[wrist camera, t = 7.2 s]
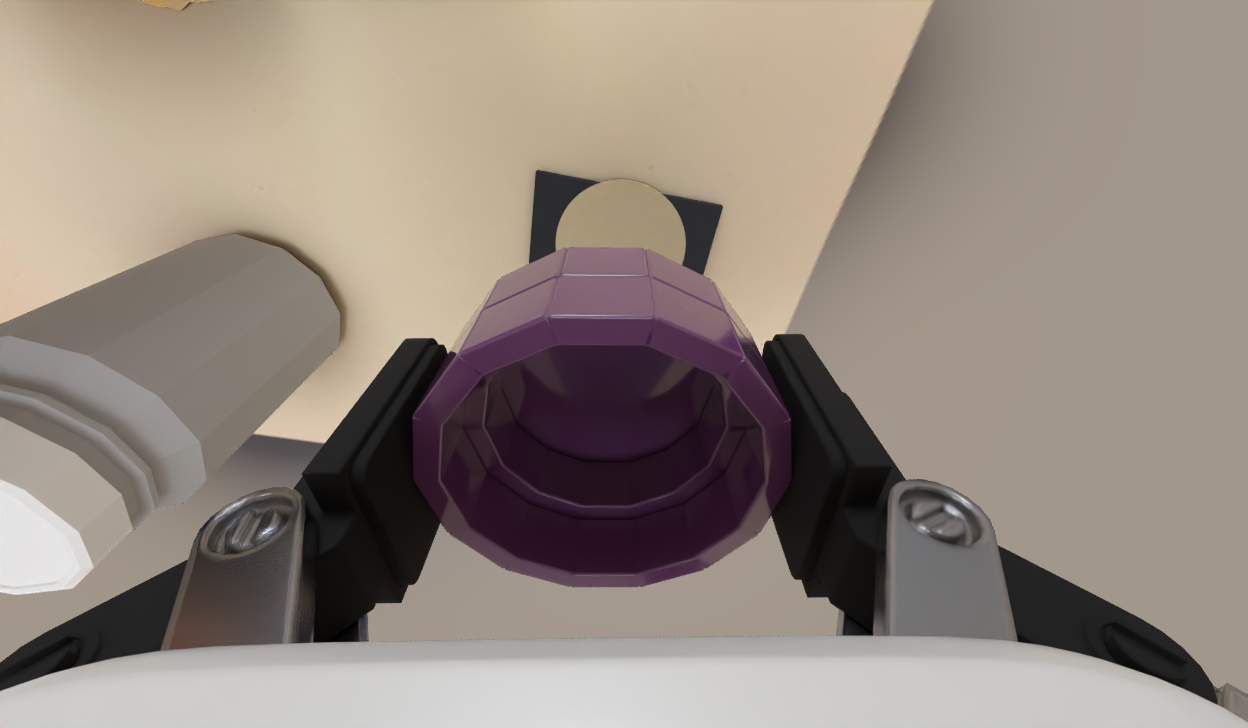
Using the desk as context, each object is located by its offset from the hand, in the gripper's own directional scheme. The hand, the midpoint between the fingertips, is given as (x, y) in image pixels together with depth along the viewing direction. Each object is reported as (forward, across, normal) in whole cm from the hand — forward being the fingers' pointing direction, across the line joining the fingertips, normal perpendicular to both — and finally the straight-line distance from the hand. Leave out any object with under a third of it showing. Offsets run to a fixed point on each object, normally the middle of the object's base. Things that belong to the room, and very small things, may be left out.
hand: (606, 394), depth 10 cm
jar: (+20, +23, +7) cm, 31 cm away
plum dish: (+1, 0, 0) cm, 1 cm away
